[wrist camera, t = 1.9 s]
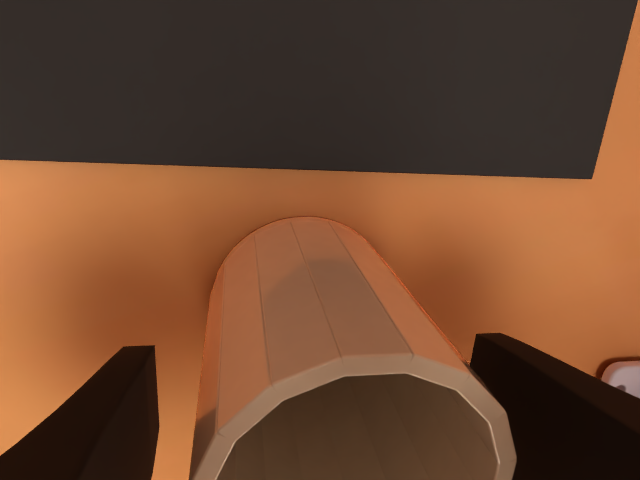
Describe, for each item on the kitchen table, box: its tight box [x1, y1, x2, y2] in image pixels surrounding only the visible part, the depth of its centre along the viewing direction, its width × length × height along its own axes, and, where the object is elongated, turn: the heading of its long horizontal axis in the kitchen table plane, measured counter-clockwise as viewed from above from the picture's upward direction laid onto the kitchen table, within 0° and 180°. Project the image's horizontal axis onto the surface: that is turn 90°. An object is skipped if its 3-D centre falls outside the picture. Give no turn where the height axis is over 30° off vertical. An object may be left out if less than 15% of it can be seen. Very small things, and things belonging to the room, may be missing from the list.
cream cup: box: [189, 217, 517, 480], centre depth 11 cm, size 5×5×7 cm
